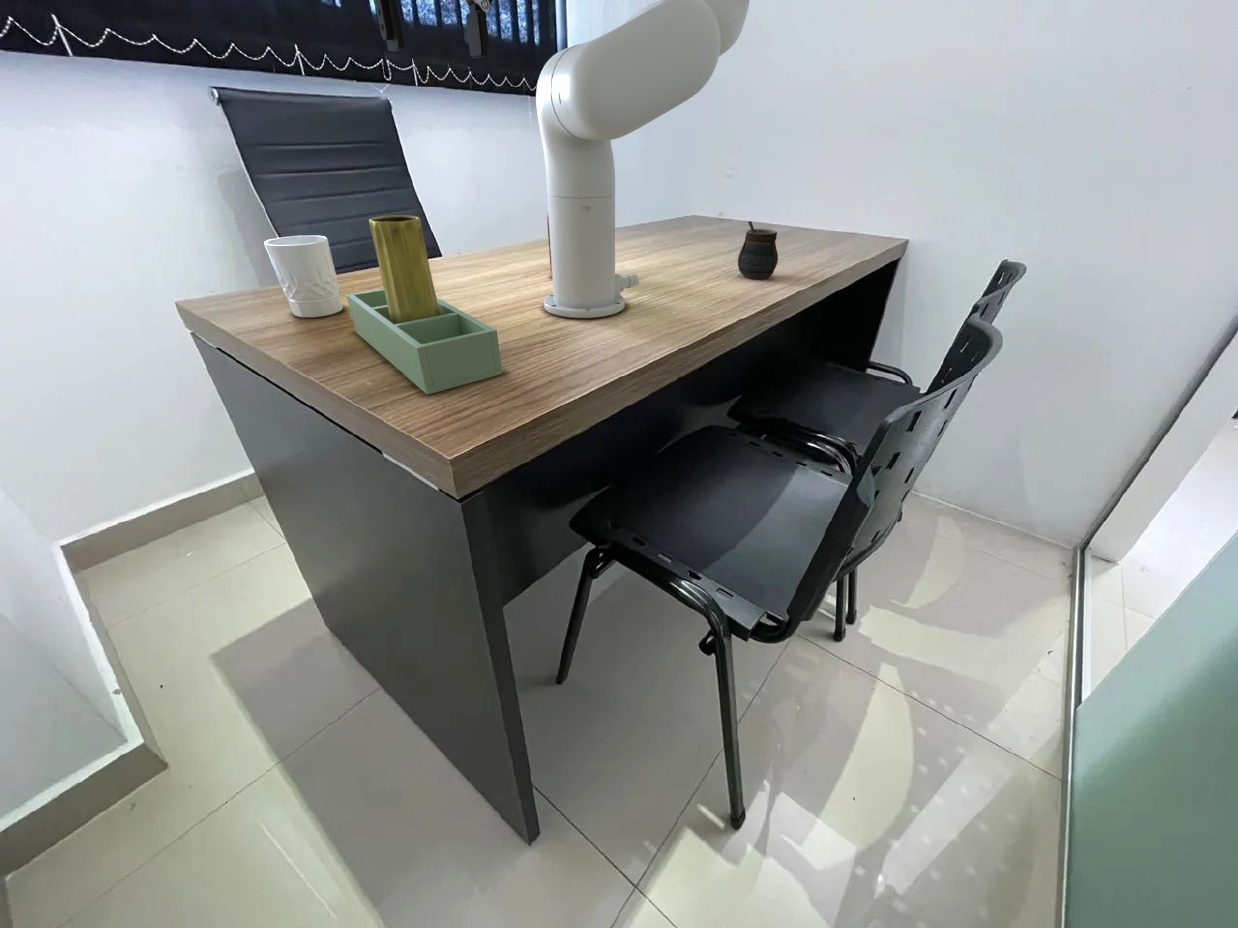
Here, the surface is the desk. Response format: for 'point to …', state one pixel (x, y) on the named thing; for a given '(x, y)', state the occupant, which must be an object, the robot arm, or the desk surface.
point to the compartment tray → (429, 343)
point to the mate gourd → (758, 253)
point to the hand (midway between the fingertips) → (439, 54)
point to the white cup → (306, 274)
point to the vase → (404, 268)
